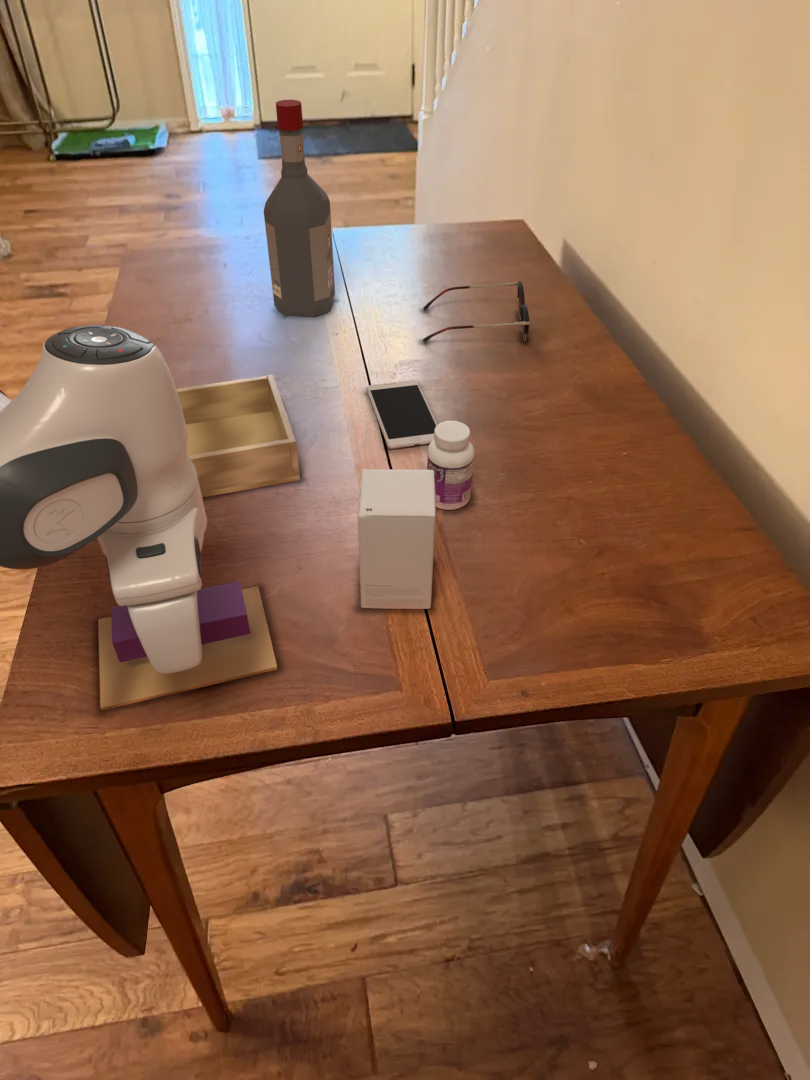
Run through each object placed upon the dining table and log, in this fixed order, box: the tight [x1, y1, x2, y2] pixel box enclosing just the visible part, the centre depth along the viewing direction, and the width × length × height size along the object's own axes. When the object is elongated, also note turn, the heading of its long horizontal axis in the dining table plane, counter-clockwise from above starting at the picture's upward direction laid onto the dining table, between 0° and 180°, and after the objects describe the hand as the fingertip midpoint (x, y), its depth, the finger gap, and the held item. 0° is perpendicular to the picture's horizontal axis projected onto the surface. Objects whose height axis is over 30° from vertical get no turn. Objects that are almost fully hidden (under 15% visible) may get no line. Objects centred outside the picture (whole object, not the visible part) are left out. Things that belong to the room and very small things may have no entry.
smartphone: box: [366, 379, 439, 450], centre depth 105 cm, size 8×1×15 cm
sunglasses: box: [422, 280, 531, 343], centre depth 122 cm, size 14×16×5 cm
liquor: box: [263, 99, 336, 318], centre depth 119 cm, size 9×9×30 cm
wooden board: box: [97, 585, 279, 711], centre depth 75 cm, size 16×11×1 cm
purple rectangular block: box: [110, 581, 251, 662], centre depth 73 cm, size 12×4×3 cm, turn 107°
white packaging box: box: [357, 468, 437, 610], centre depth 77 cm, size 7×7×13 cm
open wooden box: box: [176, 374, 301, 499], centre depth 96 cm, size 20×16×6 cm
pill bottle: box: [426, 420, 475, 511], centre depth 89 cm, size 5×5×10 cm
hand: (181, 624), depth 73 cm, fingers closed on purple rectangular block, 4 cm apart
